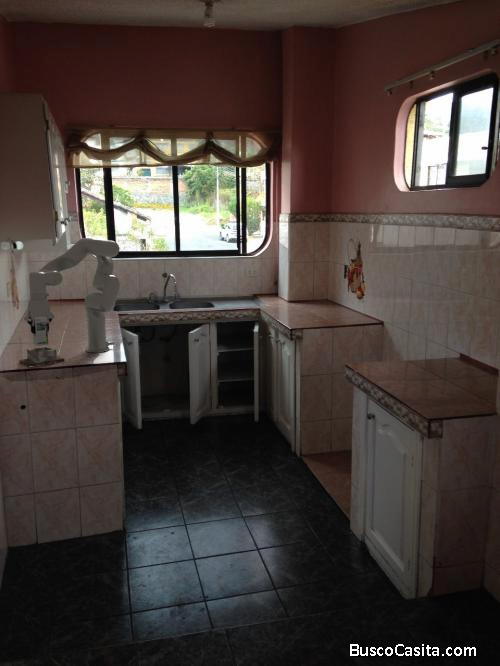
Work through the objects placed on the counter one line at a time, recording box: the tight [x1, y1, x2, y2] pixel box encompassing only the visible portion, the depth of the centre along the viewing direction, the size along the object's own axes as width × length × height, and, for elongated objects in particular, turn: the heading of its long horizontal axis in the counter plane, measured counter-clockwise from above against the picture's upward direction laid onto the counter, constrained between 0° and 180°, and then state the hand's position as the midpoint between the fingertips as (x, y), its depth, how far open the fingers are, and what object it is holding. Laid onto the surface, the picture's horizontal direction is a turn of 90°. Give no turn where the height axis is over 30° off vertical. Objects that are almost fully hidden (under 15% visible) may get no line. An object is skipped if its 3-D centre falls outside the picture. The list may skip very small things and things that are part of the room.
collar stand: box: [18, 345, 65, 367], centre depth 299 cm, size 18×12×6 cm, turn 135°
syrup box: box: [32, 316, 49, 347], centre depth 296 cm, size 6×6×14 cm
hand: (40, 332), depth 297 cm, fingers closed on syrup box, 6 cm apart
